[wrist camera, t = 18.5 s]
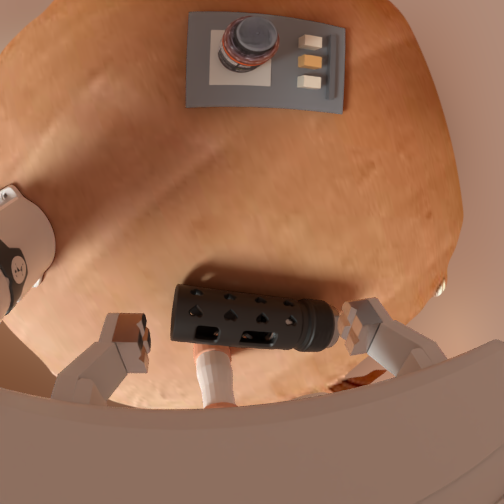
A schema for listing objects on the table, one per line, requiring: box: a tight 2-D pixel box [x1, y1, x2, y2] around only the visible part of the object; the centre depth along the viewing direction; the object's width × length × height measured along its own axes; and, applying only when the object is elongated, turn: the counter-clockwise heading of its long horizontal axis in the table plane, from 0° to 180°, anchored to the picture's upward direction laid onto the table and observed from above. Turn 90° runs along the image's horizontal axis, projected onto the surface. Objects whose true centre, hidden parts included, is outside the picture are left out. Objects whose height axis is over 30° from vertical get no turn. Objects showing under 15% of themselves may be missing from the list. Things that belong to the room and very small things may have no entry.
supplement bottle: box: [218, 16, 280, 73], centre depth 26 cm, size 6×6×11 cm
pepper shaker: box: [193, 343, 238, 409], centre depth 48 cm, size 7×7×19 cm
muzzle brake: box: [170, 284, 340, 352], centre depth 48 cm, size 10×28×10 cm, turn 73°
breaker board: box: [186, 12, 345, 114], centre depth 32 cm, size 22×14×4 cm, turn 88°
